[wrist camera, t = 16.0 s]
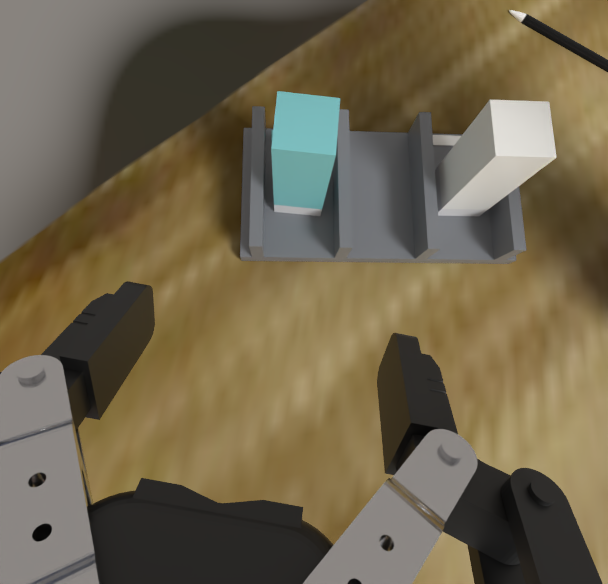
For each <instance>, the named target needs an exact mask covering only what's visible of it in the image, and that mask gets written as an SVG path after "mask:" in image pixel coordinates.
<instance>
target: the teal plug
mask: <svg viewBox="0 0 608 584" xmlns="http://www.w3.org/2000/svg"><path fill="white" fill-rule="evenodd" d="M339 108H340V98H334V97H325V96H316V95H307V94H298V93H290V92H281V91H278V92H277V101H276V110H275V119H274V128H273V137H272V147H271V153H272V174H273V195H274V212H282V213H292V214H302V215H312V216H320V215H321V212H322V208H323V204H324V200H325V196H326V192H327V188H328V184H329V180H330V177H331V173H332V169H333V165H334V161H335V157H336V148H337V135H338V121H339Z"/></svg>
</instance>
